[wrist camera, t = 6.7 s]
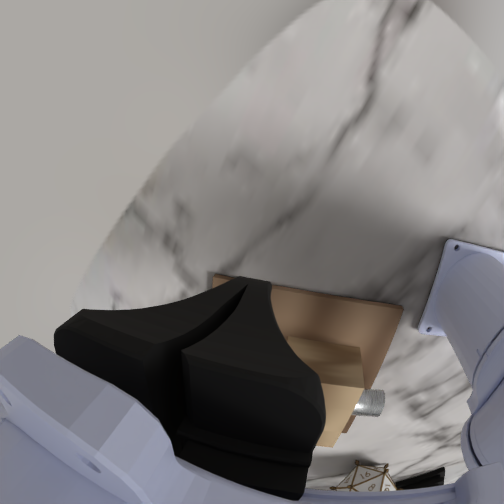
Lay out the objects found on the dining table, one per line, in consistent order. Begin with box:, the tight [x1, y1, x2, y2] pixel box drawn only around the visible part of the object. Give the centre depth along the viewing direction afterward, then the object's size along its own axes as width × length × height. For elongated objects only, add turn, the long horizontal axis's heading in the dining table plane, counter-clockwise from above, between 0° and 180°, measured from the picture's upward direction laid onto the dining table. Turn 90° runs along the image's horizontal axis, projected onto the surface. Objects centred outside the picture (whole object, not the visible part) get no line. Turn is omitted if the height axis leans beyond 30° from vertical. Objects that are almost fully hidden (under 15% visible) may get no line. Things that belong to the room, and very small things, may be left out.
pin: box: [351, 389, 385, 417], centre depth 21 cm, size 10×4×4 cm, turn 85°
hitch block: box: [212, 274, 404, 447], centre depth 21 cm, size 15×16×5 cm
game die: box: [330, 460, 403, 492], centre depth 24 cm, size 9×8×10 cm
